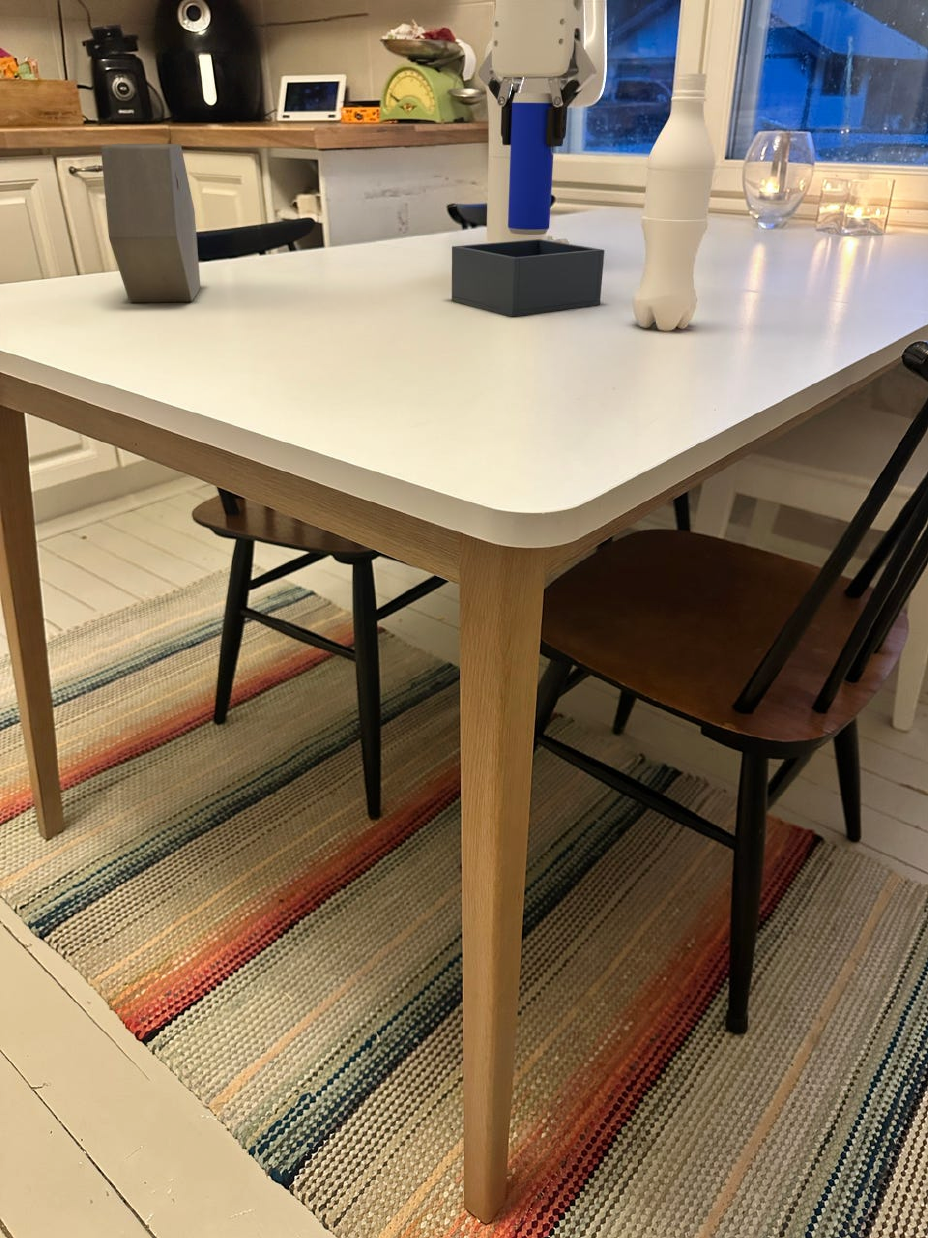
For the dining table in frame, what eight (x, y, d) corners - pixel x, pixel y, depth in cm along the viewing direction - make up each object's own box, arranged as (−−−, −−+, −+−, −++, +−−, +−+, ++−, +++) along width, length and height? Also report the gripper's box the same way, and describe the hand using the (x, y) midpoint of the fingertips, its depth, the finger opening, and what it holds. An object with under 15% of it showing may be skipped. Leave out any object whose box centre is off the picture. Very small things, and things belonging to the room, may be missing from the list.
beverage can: (554, 234, 109) (562, 93, 101) (513, 235, 108) (519, 92, 100) (542, 229, 113) (549, 93, 106) (503, 230, 112) (507, 92, 105)
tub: (536, 290, 123) (539, 238, 120) (600, 304, 114) (604, 249, 111) (451, 300, 115) (451, 246, 112) (512, 316, 107) (514, 258, 103)
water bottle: (687, 320, 106) (719, 75, 94) (699, 333, 100) (735, 73, 87) (626, 319, 106) (651, 74, 94) (635, 332, 100) (662, 72, 88)
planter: (145, 244, 124) (105, 100, 105) (201, 243, 125) (171, 101, 107) (139, 334, 116) (95, 196, 98) (199, 333, 117) (167, 196, 99)
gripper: (626, -44, 96) (611, 146, 105) (490, -34, 103) (486, 143, 113) (598, -54, 90) (584, 148, 99) (456, -43, 98) (455, 144, 107)
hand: (532, 143), depth 106 cm, fingers closed on beverage can, 5 cm apart
